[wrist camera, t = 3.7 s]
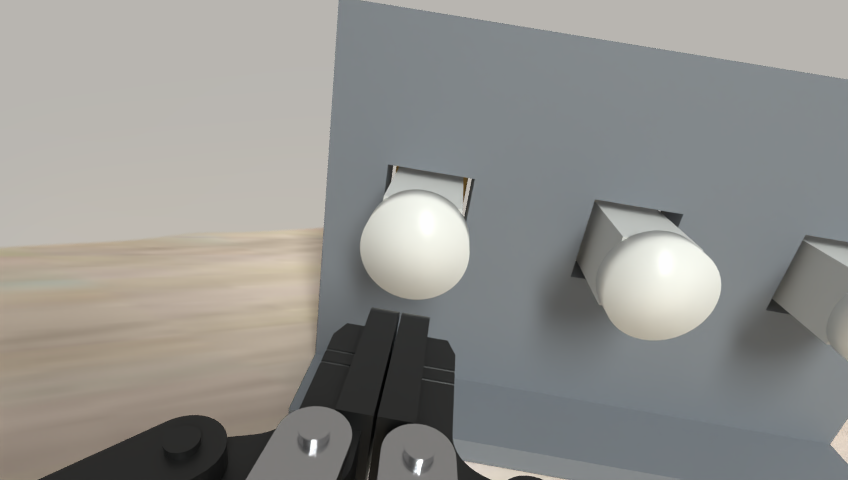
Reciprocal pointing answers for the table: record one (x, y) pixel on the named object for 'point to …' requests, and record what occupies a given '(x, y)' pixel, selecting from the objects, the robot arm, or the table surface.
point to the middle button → (646, 272)
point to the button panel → (564, 229)
